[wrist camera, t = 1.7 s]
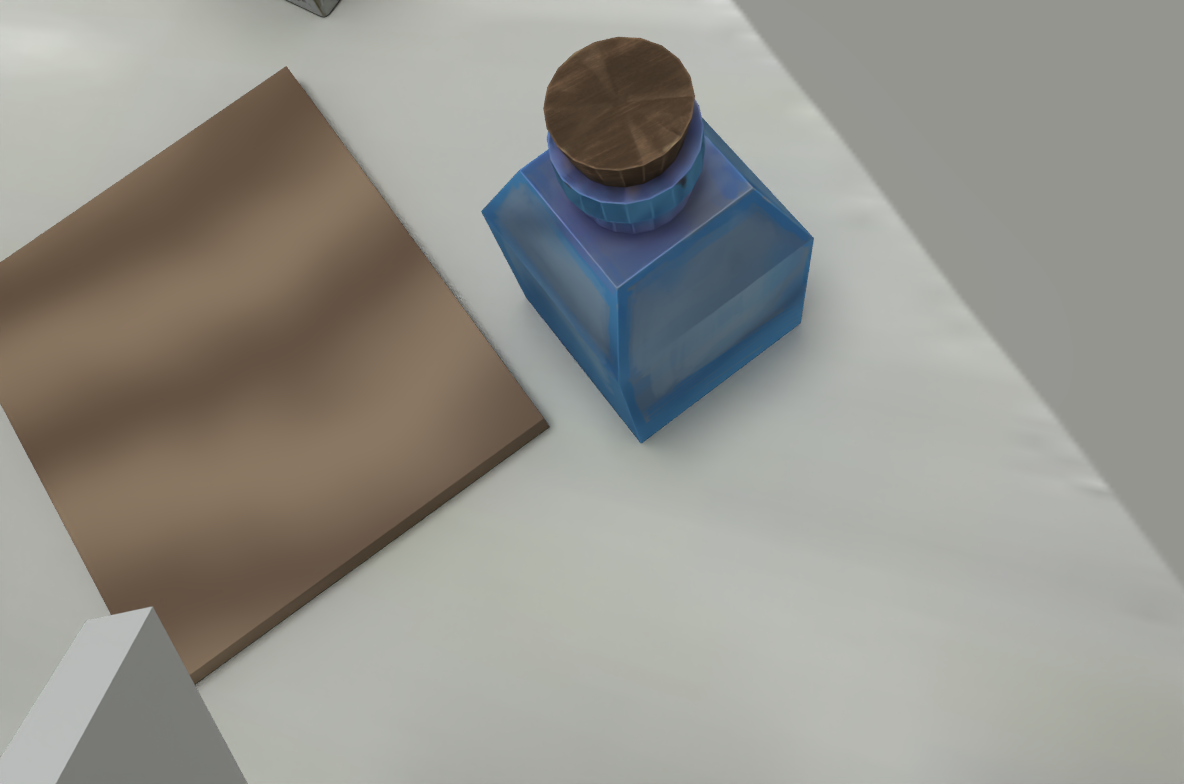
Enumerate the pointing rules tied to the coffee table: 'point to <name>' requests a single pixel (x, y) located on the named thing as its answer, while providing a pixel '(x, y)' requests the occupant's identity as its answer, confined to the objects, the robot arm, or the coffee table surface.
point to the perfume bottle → (648, 236)
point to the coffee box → (317, 5)
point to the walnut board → (244, 376)
